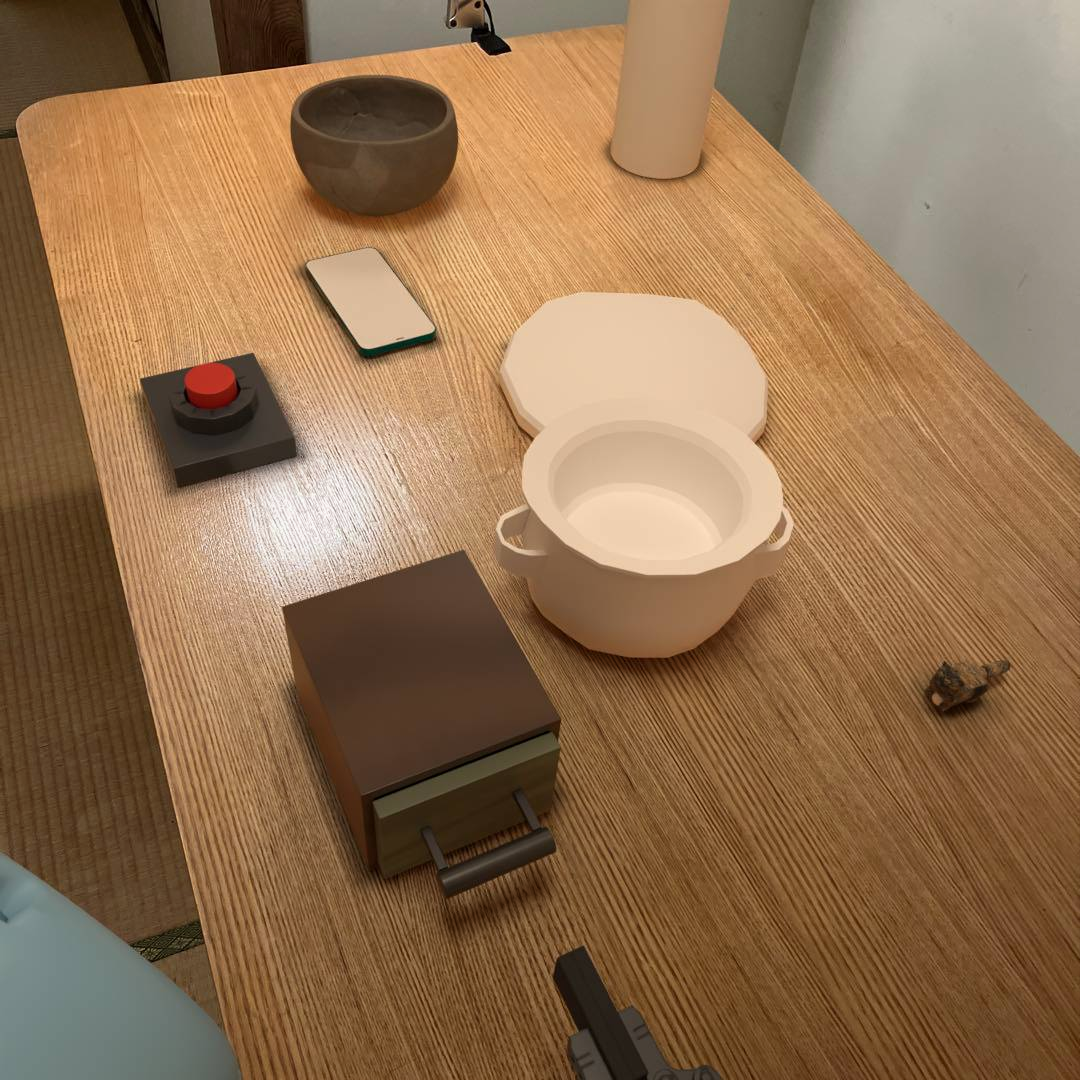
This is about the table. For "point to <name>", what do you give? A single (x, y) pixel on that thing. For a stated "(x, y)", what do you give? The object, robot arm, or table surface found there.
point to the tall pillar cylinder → (666, 85)
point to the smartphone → (370, 301)
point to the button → (211, 386)
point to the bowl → (374, 142)
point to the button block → (218, 424)
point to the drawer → (471, 815)
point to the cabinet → (410, 681)
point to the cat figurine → (962, 682)
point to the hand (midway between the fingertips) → (568, 961)
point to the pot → (643, 525)
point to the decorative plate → (631, 359)
